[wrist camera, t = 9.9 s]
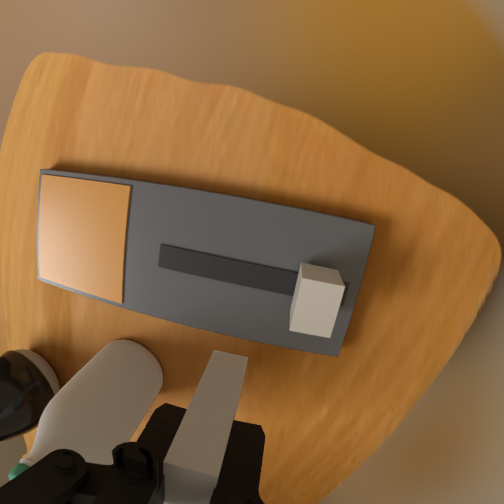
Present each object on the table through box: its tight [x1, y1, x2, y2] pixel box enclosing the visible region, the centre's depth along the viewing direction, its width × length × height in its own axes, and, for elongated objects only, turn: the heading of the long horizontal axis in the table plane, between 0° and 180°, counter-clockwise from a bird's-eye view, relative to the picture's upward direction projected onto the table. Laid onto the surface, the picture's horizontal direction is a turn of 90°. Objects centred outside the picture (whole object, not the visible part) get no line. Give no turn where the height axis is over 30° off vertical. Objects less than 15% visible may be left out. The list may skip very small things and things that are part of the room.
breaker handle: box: [289, 263, 345, 338], centre depth 24 cm, size 4×3×4 cm
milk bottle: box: [9, 339, 163, 480], centre depth 23 cm, size 8×8×20 cm
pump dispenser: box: [0, 349, 60, 442], centre depth 28 cm, size 10×10×15 cm
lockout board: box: [37, 169, 375, 357], centre depth 28 cm, size 12×32×2 cm, turn 80°
